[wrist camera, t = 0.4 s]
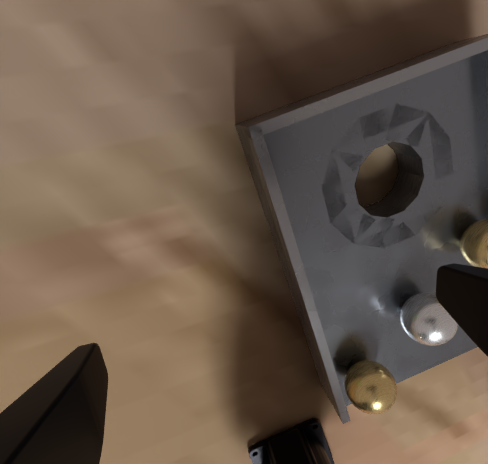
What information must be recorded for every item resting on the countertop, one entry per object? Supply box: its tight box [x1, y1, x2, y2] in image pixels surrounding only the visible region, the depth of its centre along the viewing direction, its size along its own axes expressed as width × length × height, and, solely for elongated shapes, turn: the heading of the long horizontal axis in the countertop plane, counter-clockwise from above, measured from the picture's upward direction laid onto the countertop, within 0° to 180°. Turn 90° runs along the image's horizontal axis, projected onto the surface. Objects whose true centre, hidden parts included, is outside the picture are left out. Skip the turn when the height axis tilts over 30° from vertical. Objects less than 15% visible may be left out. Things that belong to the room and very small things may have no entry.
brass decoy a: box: [344, 360, 397, 414], centre depth 24 cm, size 3×3×3 cm
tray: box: [235, 34, 488, 424], centre depth 23 cm, size 22×15×4 cm
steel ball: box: [400, 293, 458, 346], centre depth 23 cm, size 3×3×3 cm
